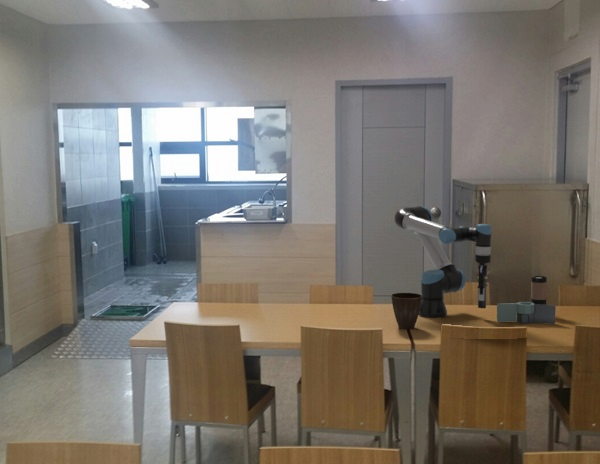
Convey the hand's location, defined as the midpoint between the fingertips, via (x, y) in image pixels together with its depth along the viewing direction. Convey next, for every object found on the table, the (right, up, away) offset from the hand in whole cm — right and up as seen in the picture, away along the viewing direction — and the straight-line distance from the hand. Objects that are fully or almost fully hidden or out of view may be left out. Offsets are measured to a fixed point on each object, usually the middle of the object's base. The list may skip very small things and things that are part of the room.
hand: (482, 299), depth 347 cm
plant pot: (-41, -12, -15) cm, 46 cm away
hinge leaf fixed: (+24, -11, -9) cm, 28 cm away
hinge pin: (0, -4, 0) cm, 4 cm away
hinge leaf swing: (+15, -10, -7) cm, 19 cm away
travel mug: (+32, -9, +8) cm, 34 cm away
